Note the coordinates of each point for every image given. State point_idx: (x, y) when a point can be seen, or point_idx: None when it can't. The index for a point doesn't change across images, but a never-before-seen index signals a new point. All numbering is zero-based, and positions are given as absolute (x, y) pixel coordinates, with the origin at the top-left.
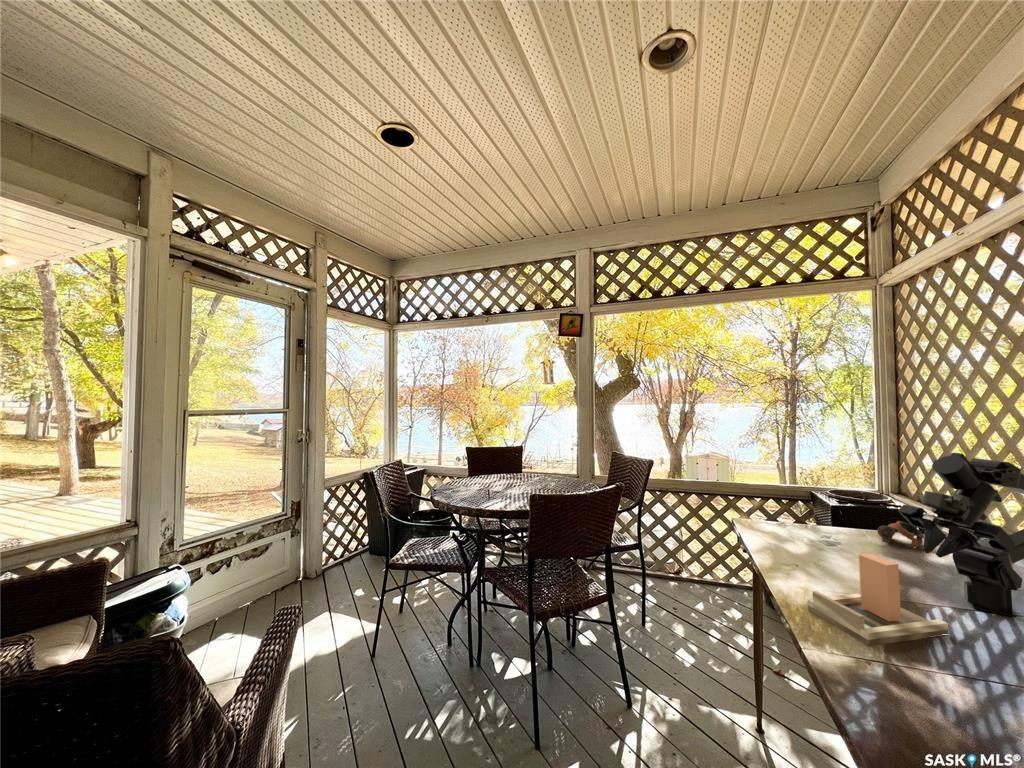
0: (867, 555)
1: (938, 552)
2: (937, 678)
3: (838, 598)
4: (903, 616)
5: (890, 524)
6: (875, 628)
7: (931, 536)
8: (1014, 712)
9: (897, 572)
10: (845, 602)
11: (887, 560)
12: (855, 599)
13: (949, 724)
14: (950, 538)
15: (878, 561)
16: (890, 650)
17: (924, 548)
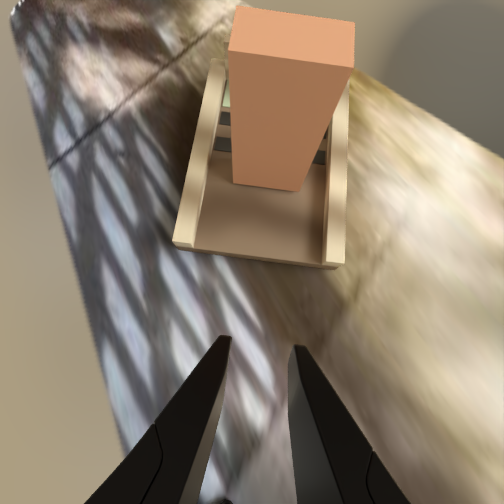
0: (338, 41)
1: (217, 342)
2: (117, 85)
3: (335, 135)
4: (247, 216)
5: None
6: (217, 84)
7: (330, 482)
8: (29, 95)
9: (230, 79)
10: (328, 153)
11: (270, 51)
12: (328, 175)
13: (66, 9)
14: (128, 490)
15: (274, 15)
16: (191, 98)
17: (305, 353)
